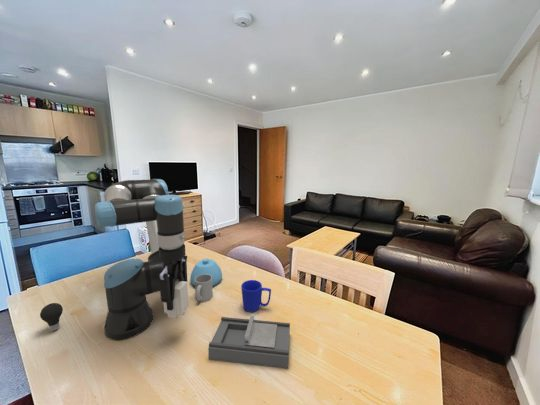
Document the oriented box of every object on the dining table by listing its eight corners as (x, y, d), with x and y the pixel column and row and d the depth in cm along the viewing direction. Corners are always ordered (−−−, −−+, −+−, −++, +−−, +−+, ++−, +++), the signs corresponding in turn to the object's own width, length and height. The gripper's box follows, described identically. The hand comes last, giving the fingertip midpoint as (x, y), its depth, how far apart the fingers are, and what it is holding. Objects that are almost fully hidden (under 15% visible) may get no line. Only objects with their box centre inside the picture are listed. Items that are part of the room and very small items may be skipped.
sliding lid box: (208, 359, 68) (208, 345, 67) (222, 328, 81) (222, 315, 80) (288, 368, 65) (288, 354, 64) (289, 334, 78) (289, 322, 77)
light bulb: (41, 338, 75) (35, 311, 73) (47, 327, 80) (42, 302, 78) (62, 332, 78) (58, 306, 76) (68, 322, 83) (63, 297, 81)
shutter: (244, 346, 68) (244, 336, 67) (250, 324, 77) (250, 315, 76) (274, 350, 67) (274, 339, 66) (277, 326, 76) (277, 317, 75)
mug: (268, 316, 87) (268, 293, 85) (238, 312, 89) (238, 289, 87) (272, 303, 95) (272, 282, 93) (245, 300, 97) (244, 278, 95)
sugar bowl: (228, 279, 114) (227, 257, 112) (205, 293, 101) (203, 269, 99) (208, 271, 122) (207, 250, 120) (184, 283, 109) (182, 261, 107)
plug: (164, 317, 73) (161, 284, 70) (172, 308, 77) (169, 277, 75) (182, 319, 72) (180, 286, 70) (188, 309, 76) (187, 278, 74)
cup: (215, 293, 102) (214, 274, 100) (205, 307, 92) (204, 287, 90) (200, 291, 103) (199, 273, 101) (189, 305, 93) (188, 285, 91)
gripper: (167, 258, 61) (173, 332, 65) (196, 236, 78) (198, 296, 83) (141, 256, 62) (149, 330, 66) (175, 234, 79) (179, 294, 83)
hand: (176, 311), depth 74 cm, fingers closed on plug, 4 cm apart
